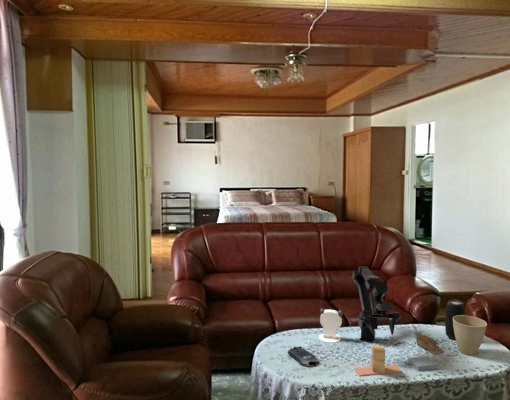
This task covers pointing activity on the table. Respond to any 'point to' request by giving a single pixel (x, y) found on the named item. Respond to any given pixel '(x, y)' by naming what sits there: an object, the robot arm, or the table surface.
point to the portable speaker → (452, 310)
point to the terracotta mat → (368, 371)
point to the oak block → (378, 359)
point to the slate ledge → (423, 363)
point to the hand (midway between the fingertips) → (382, 334)
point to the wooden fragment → (428, 344)
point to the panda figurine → (330, 325)
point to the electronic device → (302, 356)
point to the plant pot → (469, 333)
